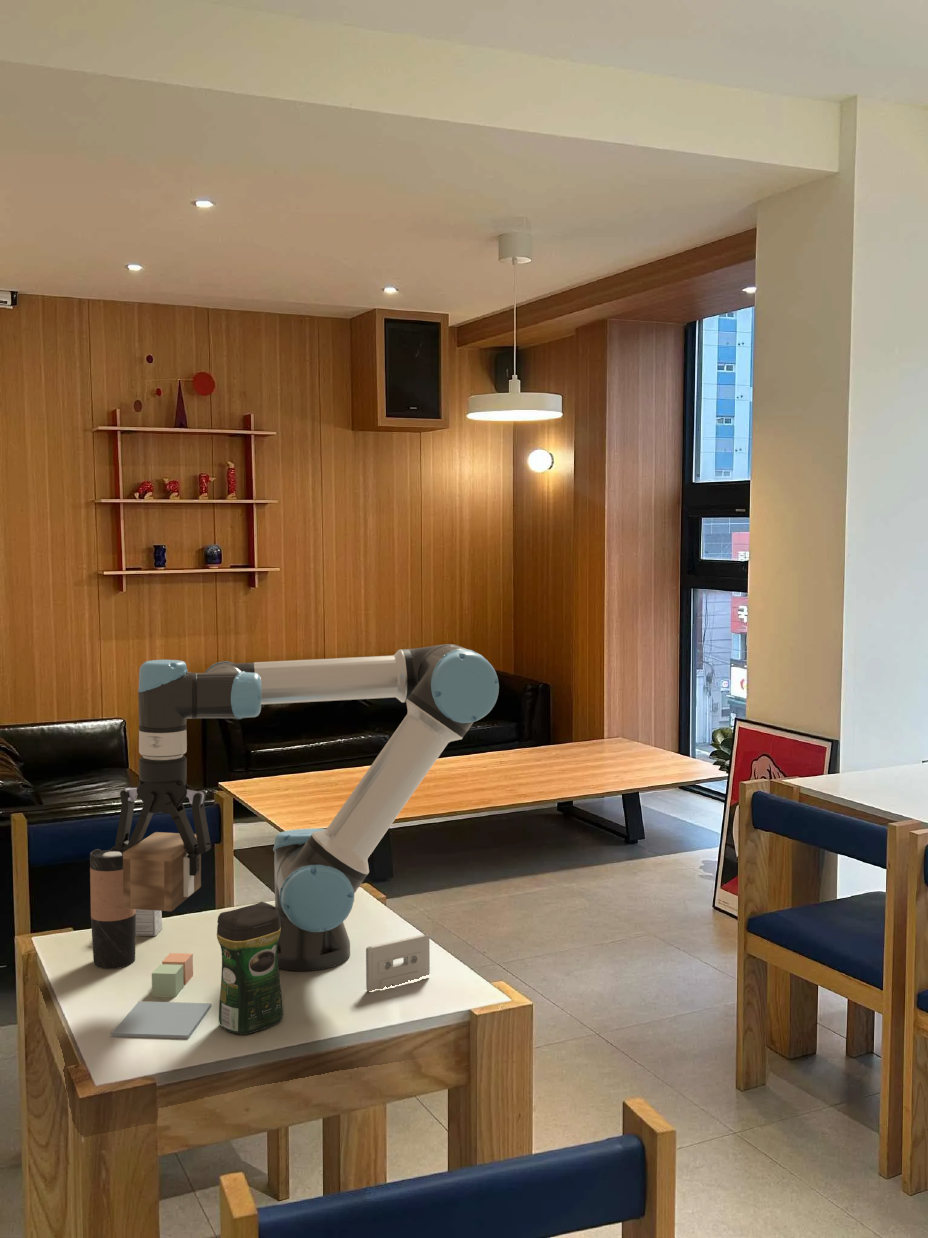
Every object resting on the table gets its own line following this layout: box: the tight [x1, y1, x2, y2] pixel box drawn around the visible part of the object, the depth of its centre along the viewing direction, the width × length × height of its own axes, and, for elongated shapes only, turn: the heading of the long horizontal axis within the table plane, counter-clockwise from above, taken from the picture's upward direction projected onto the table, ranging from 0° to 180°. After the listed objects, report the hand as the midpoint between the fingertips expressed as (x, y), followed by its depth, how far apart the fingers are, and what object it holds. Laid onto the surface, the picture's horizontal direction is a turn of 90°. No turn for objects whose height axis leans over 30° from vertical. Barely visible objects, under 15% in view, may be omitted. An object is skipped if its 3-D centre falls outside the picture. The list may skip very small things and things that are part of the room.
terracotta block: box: [161, 952, 194, 986], centre depth 197 cm, size 4×4×4 cm
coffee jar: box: [216, 901, 284, 1035], centre depth 179 cm, size 10×8×19 cm
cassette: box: [365, 933, 431, 992], centre depth 195 cm, size 12×2×8 cm, turn 123°
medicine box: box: [136, 909, 163, 937], centre depth 221 cm, size 8×4×9 cm, turn 88°
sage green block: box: [151, 963, 185, 998], centre depth 192 cm, size 4×4×4 cm
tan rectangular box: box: [123, 831, 202, 912], centre depth 188 cm, size 8×13×9 cm, turn 173°
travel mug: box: [89, 846, 137, 970], centre depth 205 cm, size 8×8×20 cm
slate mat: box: [110, 1000, 212, 1040], centre depth 181 cm, size 12×12×1 cm
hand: (163, 893), depth 189 cm, fingers closed on tan rectangular box, 8 cm apart
